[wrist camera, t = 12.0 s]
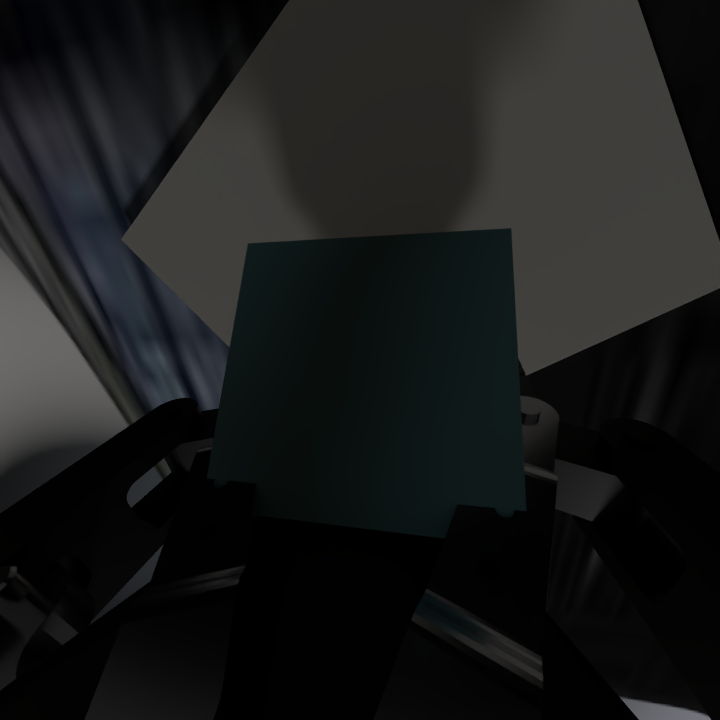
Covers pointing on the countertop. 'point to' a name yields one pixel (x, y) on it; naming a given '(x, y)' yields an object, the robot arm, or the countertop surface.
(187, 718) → the robot arm
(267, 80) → the cream board
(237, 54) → the countertop surface
